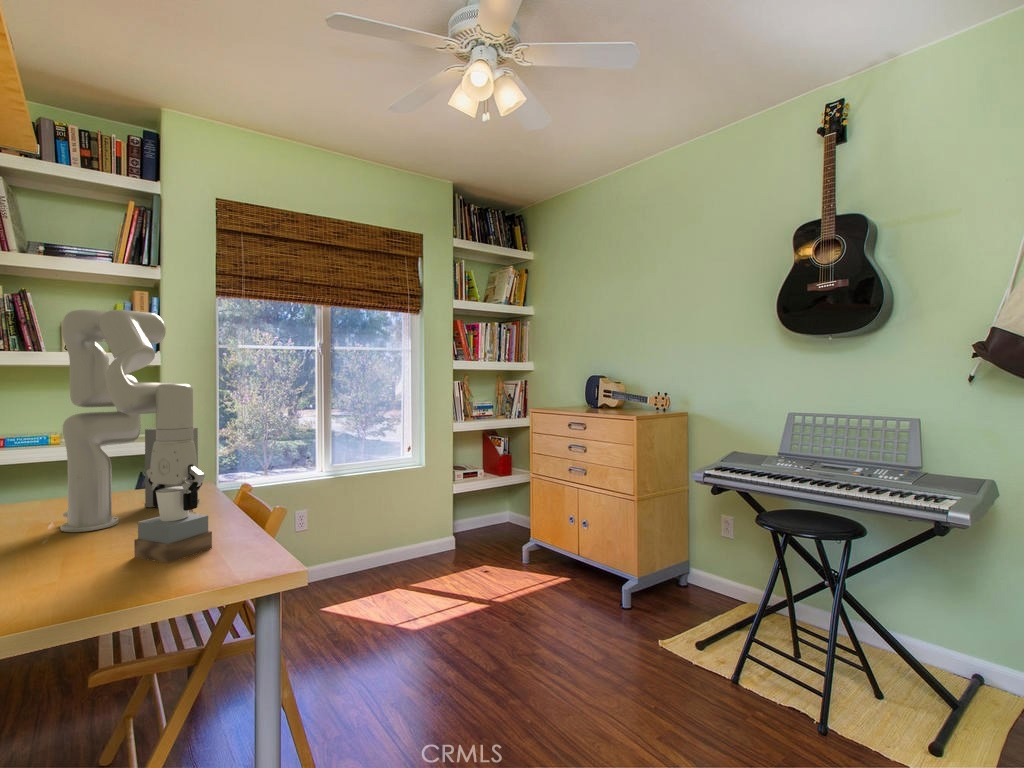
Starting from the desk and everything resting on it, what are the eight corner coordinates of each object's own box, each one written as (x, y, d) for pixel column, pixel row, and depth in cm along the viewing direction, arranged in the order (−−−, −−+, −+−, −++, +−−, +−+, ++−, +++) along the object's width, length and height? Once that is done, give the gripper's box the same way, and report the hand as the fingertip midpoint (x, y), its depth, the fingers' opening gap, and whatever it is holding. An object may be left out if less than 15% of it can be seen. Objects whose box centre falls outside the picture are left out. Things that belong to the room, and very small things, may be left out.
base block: (134, 559, 121) (134, 539, 121) (179, 544, 132) (179, 526, 132) (168, 564, 118) (168, 544, 117) (211, 549, 128) (211, 531, 128)
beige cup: (174, 522, 121) (172, 492, 120) (150, 521, 122) (148, 491, 122) (198, 514, 127) (197, 485, 127) (174, 513, 129) (173, 484, 128)
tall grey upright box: (199, 503, 174) (199, 427, 174) (189, 507, 168) (189, 429, 167) (156, 503, 173) (156, 427, 173) (144, 508, 167) (144, 429, 167)
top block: (138, 539, 122) (138, 521, 122) (179, 527, 131) (179, 511, 131) (168, 544, 118) (168, 526, 118) (208, 532, 127) (208, 515, 127)
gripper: (132, 435, 124) (133, 508, 124) (187, 438, 118) (188, 514, 119) (163, 432, 131) (163, 501, 131) (216, 435, 125) (216, 506, 126)
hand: (175, 507), depth 125 cm, fingers open, 9 cm apart
